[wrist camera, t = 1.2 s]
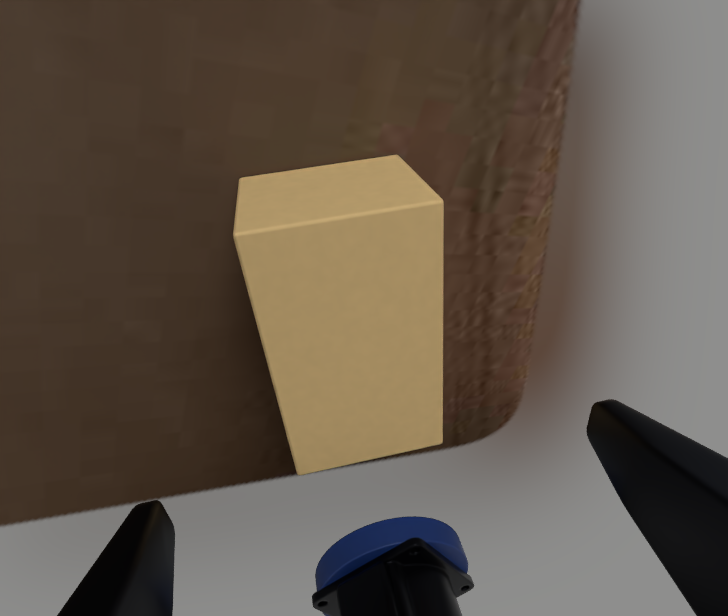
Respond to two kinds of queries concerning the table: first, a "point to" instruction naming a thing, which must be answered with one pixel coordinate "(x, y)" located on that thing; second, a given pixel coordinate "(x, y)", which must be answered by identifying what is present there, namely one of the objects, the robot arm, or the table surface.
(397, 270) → the tan block
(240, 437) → the table surface
